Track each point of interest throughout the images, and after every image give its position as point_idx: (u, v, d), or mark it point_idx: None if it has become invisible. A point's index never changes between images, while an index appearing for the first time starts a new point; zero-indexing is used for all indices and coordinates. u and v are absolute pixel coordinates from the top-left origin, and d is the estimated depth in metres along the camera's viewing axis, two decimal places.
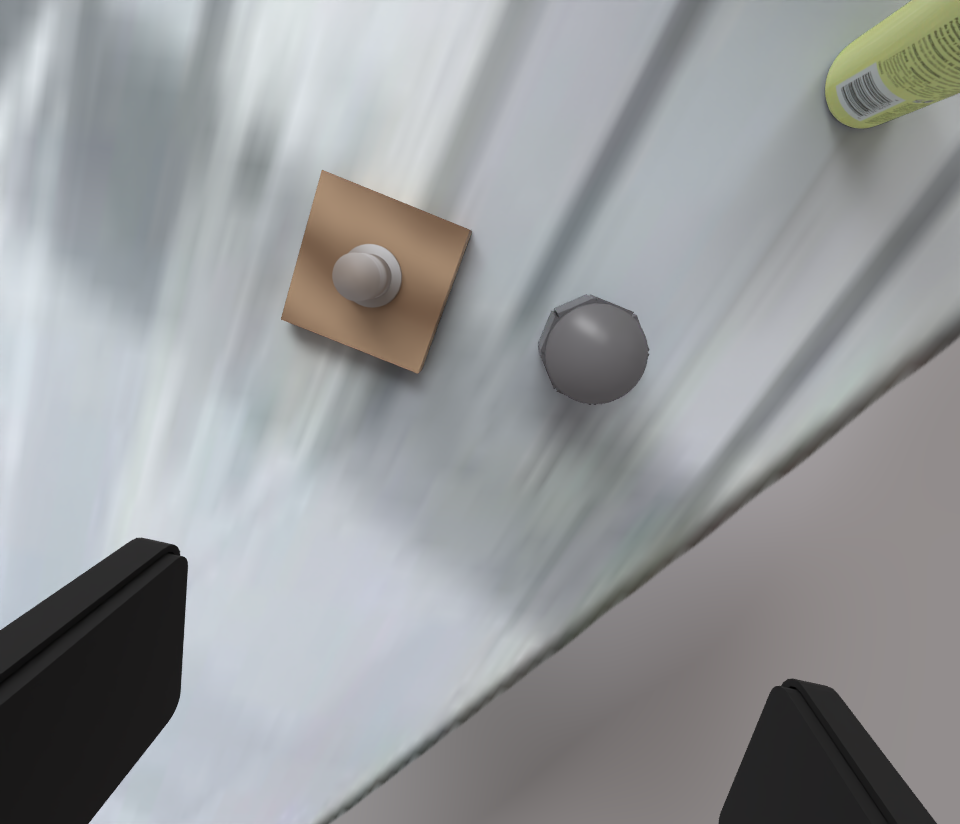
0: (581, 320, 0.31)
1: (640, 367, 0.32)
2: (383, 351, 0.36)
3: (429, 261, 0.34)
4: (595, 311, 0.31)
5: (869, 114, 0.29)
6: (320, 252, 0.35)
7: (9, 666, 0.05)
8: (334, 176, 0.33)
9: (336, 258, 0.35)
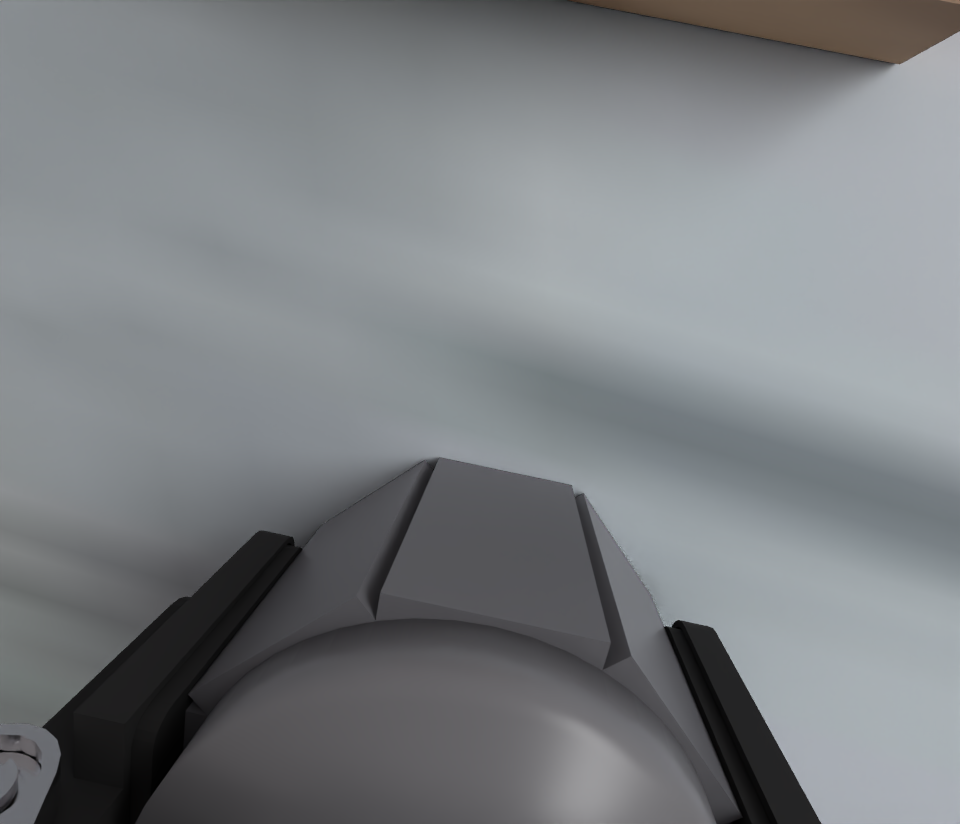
0: None
1: None
2: None
3: None
4: None
5: None
6: None
7: (198, 639, 0.06)
8: None
9: None
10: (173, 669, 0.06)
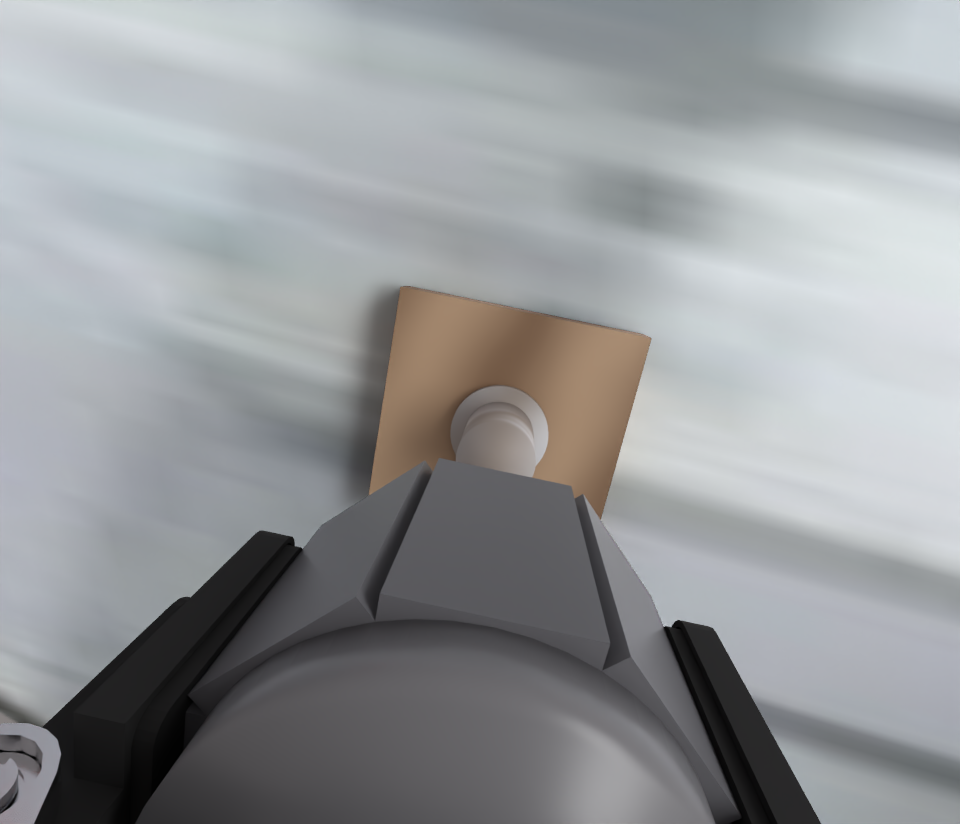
0: None
1: None
2: (386, 460, 0.23)
3: None
4: None
5: None
6: (522, 346, 0.21)
7: (198, 639, 0.06)
8: (643, 359, 0.21)
9: (517, 373, 0.21)
10: (173, 670, 0.06)
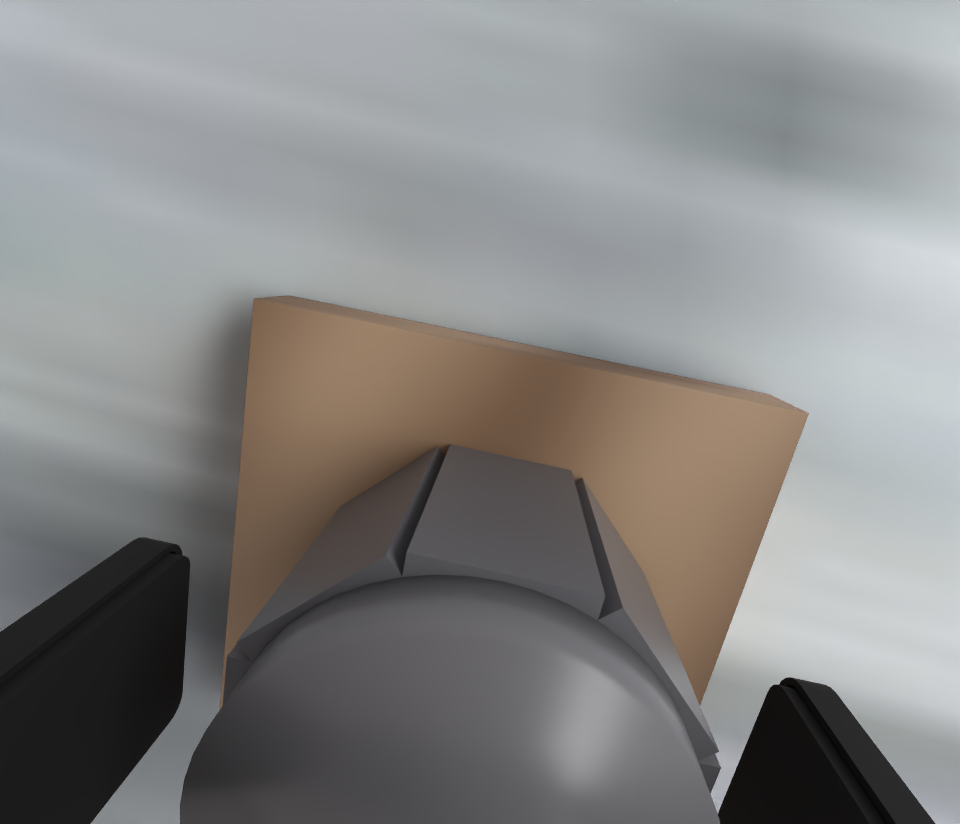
0: (623, 783, 0.05)
1: None
2: None
3: None
4: None
5: None
6: (522, 428, 0.10)
7: (12, 665, 0.05)
8: (787, 458, 0.10)
9: None
10: None
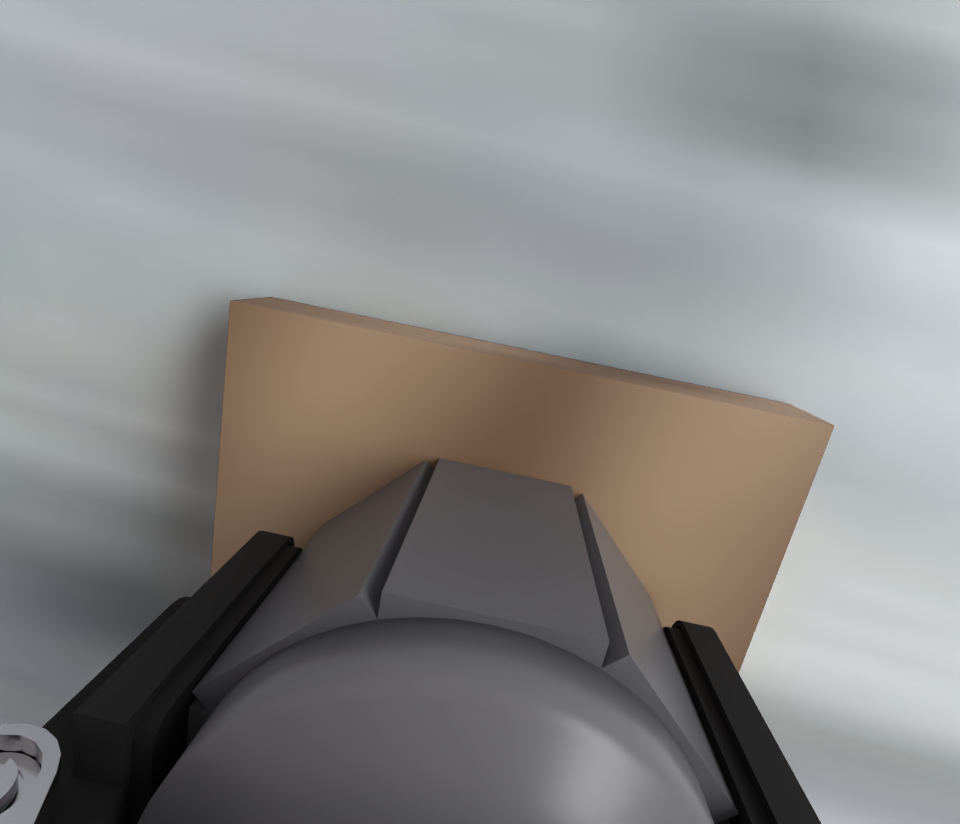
0: None
1: None
2: None
3: None
4: None
5: None
6: (522, 441, 0.09)
7: (198, 639, 0.06)
8: (810, 474, 0.09)
9: None
10: (172, 670, 0.06)
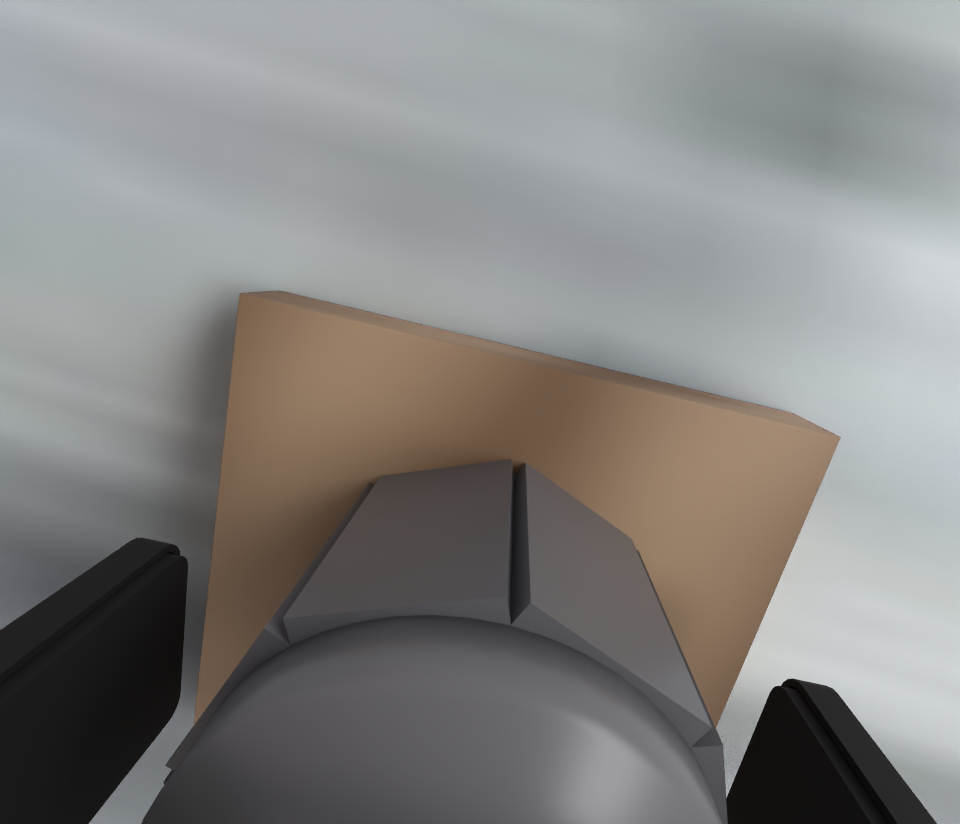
0: None
1: (583, 761, 0.04)
2: (227, 666, 0.11)
3: None
4: None
5: None
6: (528, 443, 0.09)
7: (9, 666, 0.05)
8: (815, 485, 0.09)
9: None
10: None
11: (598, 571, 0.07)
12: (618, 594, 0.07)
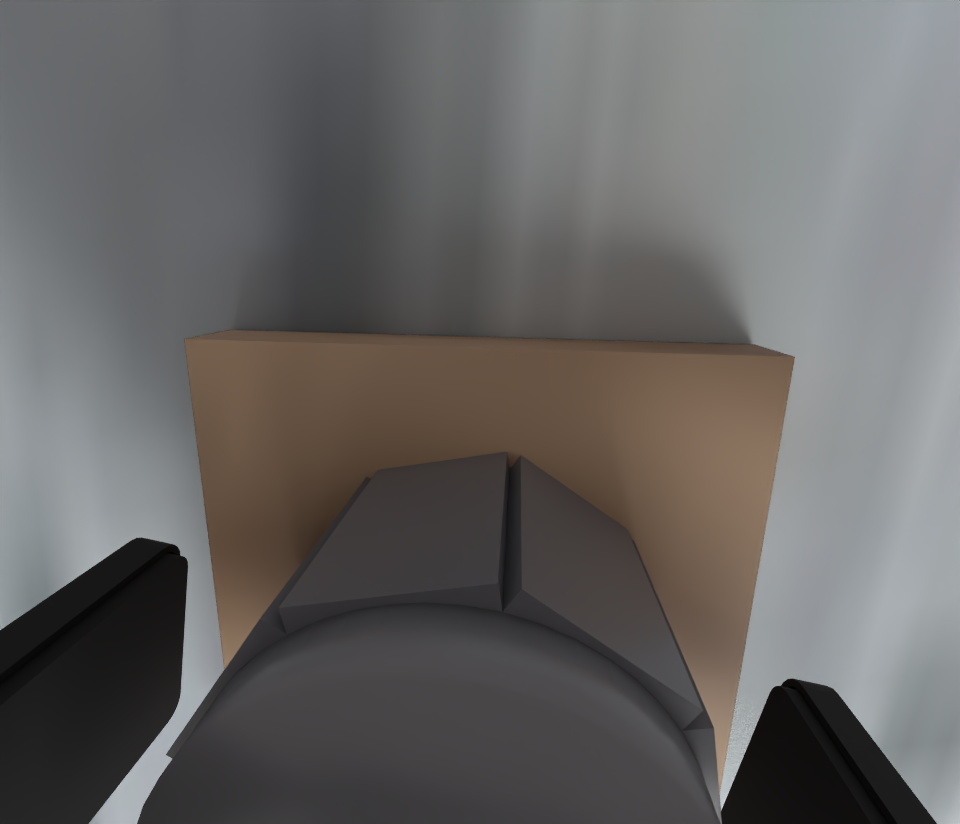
0: None
1: (573, 742, 0.04)
2: (343, 377, 0.09)
3: None
4: None
5: None
6: None
7: (9, 666, 0.05)
8: None
9: None
10: None
11: (592, 560, 0.07)
12: (611, 582, 0.07)
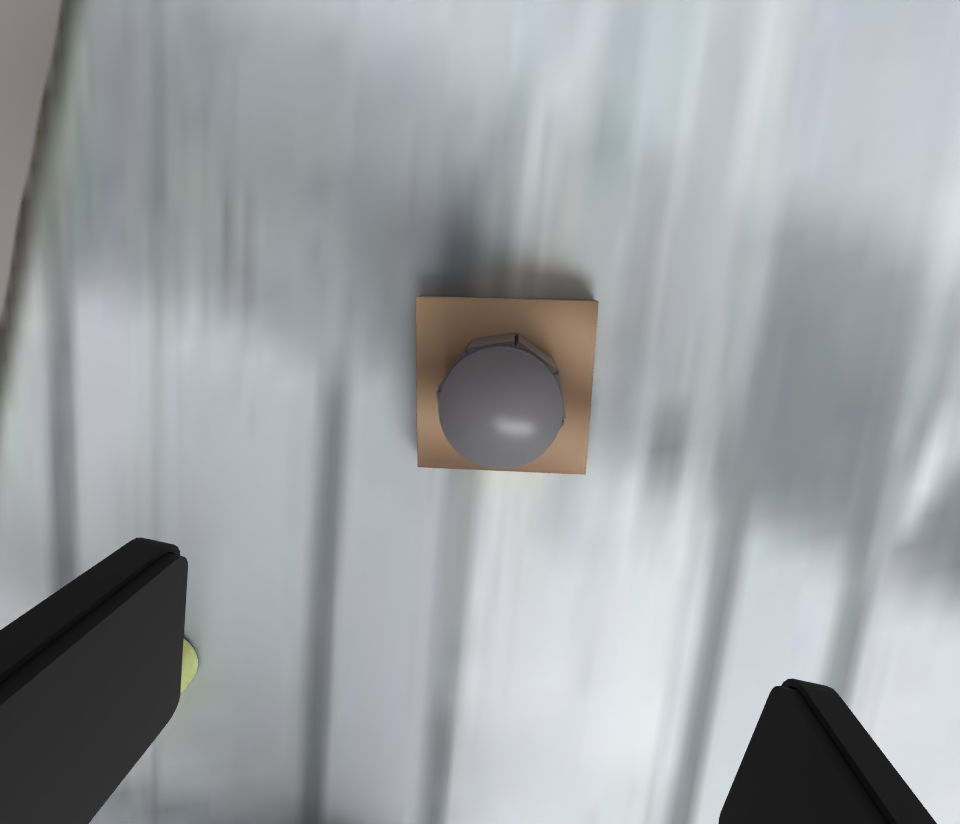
0: (454, 418, 0.26)
1: (528, 361, 0.25)
2: (464, 308, 0.29)
3: None
4: (447, 401, 0.26)
5: None
6: (567, 393, 0.30)
7: (9, 666, 0.05)
8: (570, 472, 0.31)
9: None
10: None
11: (537, 350, 0.27)
12: (541, 354, 0.27)
